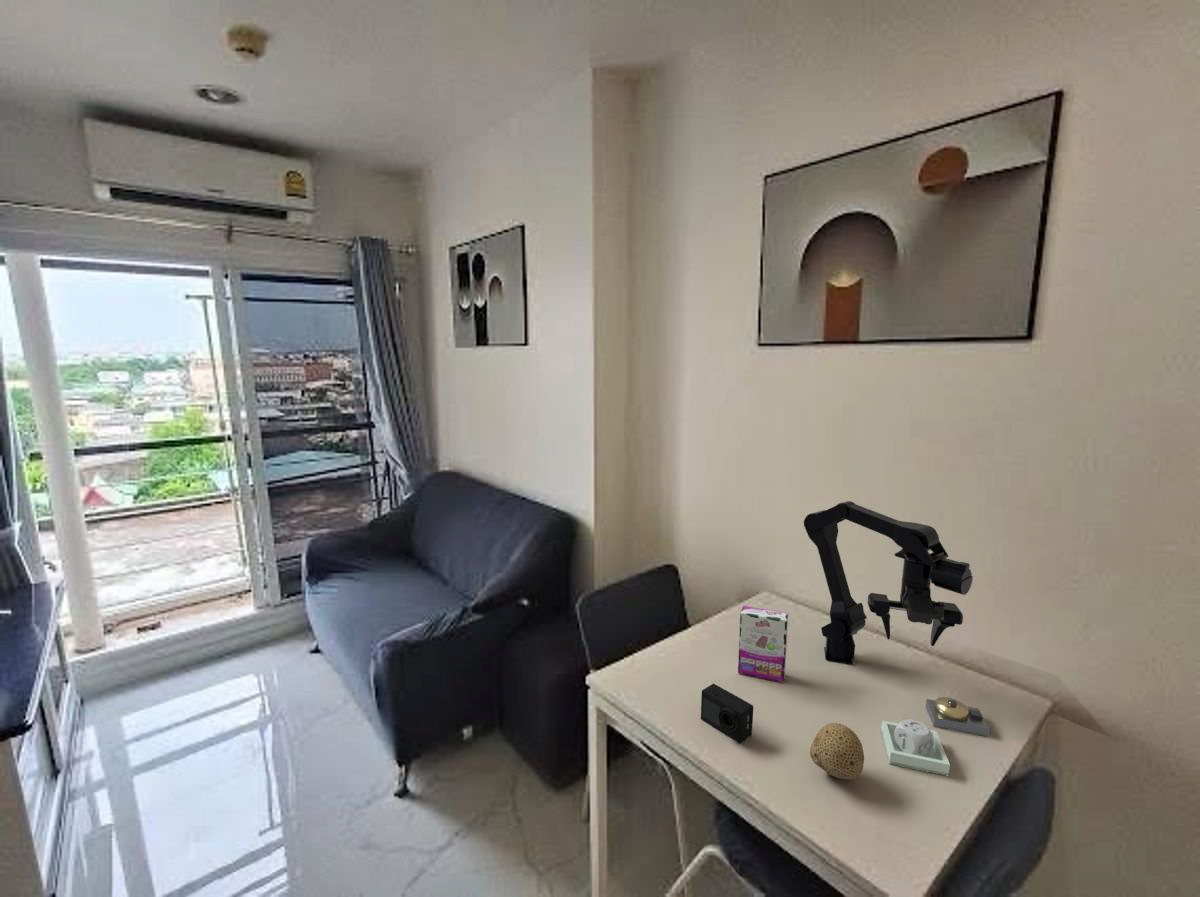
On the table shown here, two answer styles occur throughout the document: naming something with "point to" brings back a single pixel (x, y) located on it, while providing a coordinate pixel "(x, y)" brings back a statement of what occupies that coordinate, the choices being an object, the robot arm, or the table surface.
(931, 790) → the table surface
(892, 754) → the tray
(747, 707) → the digital camera
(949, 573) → the robot arm
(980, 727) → the call bell
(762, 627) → the candy bar box
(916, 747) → the die
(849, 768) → the natural sponge
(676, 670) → the table surface
